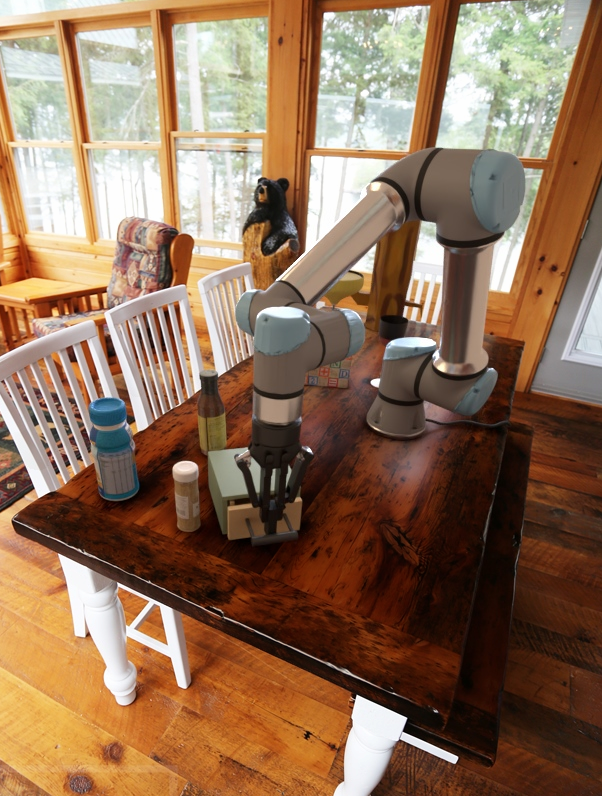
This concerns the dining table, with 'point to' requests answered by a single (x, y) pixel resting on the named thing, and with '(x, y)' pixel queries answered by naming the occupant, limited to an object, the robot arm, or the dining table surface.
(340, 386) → the stack of blocks
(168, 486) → the dining table surface
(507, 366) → the dining table surface
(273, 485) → the cabinet
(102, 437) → the beverage bottle
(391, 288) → the decorative log
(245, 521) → the drawer
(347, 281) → the cocktail glass
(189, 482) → the spice jar
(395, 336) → the wineglass
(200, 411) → the sauce bottle
